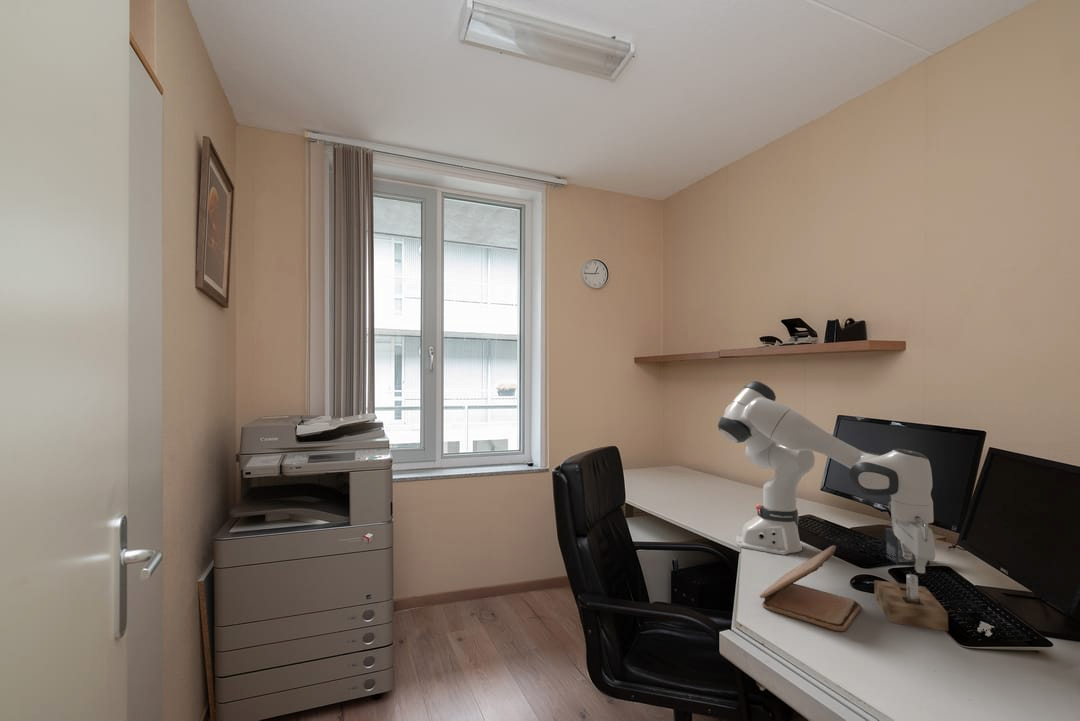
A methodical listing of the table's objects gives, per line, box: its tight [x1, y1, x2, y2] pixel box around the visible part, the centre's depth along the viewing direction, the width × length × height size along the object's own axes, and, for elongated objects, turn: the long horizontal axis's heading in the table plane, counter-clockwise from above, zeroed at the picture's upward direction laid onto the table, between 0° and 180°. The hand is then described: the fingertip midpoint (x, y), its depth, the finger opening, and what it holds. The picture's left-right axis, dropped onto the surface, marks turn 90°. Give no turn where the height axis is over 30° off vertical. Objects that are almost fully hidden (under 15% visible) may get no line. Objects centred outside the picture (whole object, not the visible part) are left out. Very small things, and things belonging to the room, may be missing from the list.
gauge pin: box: [905, 573, 919, 605], centre depth 128 cm, size 2×2×11 cm
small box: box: [885, 527, 931, 566], centre depth 166 cm, size 11×6×10 cm, turn 84°
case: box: [759, 545, 862, 632], centre depth 135 cm, size 20×21×16 cm
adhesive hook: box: [977, 620, 995, 637], centre depth 120 cm, size 3×3×3 cm
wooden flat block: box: [873, 579, 949, 632], centre depth 131 cm, size 12×16×4 cm
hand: (913, 565), depth 128 cm, fingers open, 8 cm apart
